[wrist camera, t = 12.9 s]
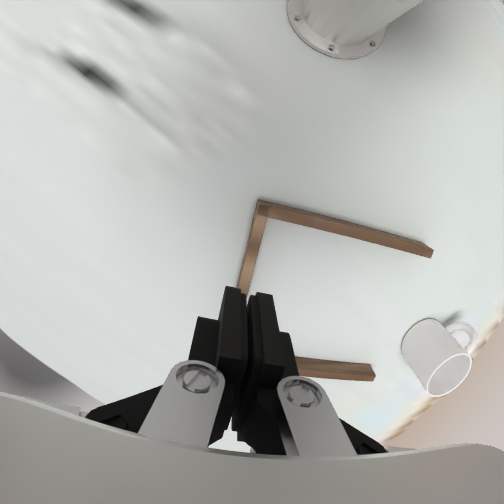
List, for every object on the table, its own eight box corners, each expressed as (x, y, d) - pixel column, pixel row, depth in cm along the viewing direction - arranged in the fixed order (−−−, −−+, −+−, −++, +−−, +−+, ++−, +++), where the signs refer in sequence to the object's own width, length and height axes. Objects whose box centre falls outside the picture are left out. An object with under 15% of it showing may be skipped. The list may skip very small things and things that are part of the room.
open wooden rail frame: (257, 199, 37) (259, 204, 34) (422, 243, 39) (433, 250, 36) (221, 351, 44) (220, 364, 41) (366, 369, 46) (372, 381, 44)
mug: (452, 295, 43) (488, 327, 33) (460, 328, 45) (491, 361, 35) (394, 336, 44) (421, 376, 35) (406, 365, 47) (431, 405, 37)
